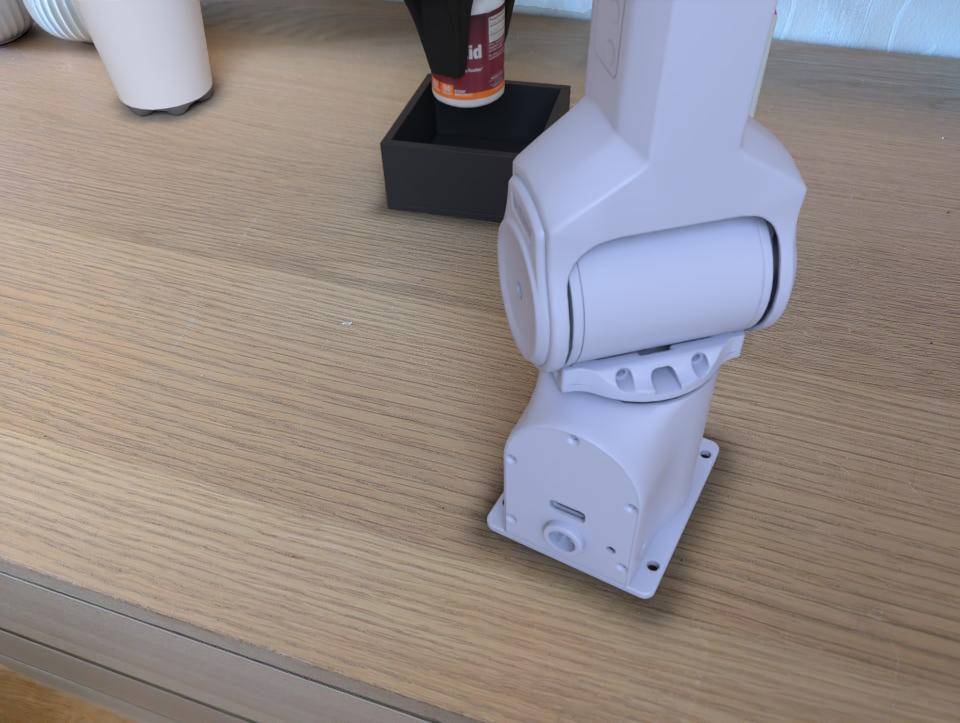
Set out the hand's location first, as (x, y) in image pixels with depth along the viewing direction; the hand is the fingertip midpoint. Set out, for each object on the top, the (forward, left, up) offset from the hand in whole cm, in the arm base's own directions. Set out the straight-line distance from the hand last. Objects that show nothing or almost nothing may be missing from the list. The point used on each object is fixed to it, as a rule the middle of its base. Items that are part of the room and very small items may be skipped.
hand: (469, 56), depth 52 cm
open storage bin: (+1, 0, -10) cm, 10 cm away
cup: (0, +30, -10) cm, 32 cm away
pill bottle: (0, 0, -3) cm, 3 cm away
